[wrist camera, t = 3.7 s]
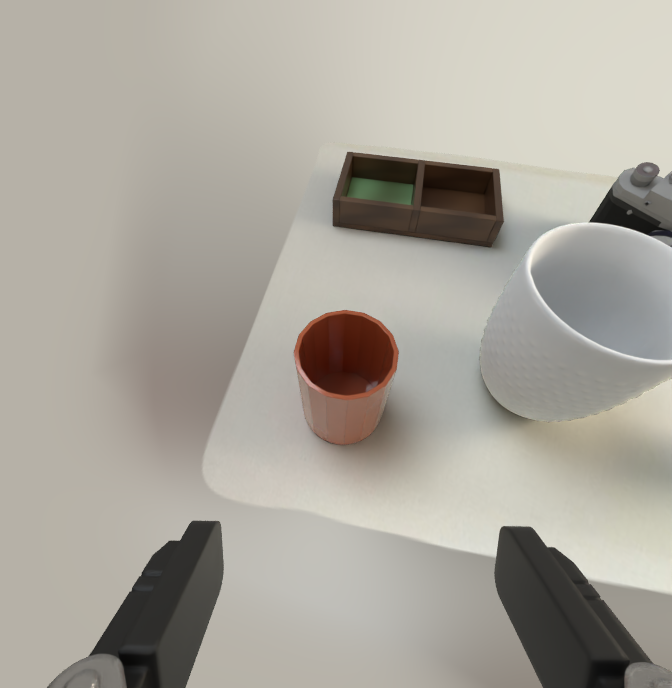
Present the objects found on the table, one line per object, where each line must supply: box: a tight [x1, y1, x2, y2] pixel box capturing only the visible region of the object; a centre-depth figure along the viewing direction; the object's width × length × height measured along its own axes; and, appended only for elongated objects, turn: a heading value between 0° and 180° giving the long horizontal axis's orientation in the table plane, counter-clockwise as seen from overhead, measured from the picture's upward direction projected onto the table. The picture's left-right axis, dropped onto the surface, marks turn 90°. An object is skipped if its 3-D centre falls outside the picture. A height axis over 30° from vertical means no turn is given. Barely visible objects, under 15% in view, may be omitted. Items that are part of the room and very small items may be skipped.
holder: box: [333, 152, 504, 247], centre depth 43 cm, size 18×10×4 cm, turn 79°
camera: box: [588, 162, 672, 247], centre depth 35 cm, size 16×9×10 cm, turn 38°
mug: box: [479, 223, 672, 422], centre depth 27 cm, size 15×11×13 cm
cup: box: [294, 310, 399, 445], centre depth 27 cm, size 7×7×9 cm
